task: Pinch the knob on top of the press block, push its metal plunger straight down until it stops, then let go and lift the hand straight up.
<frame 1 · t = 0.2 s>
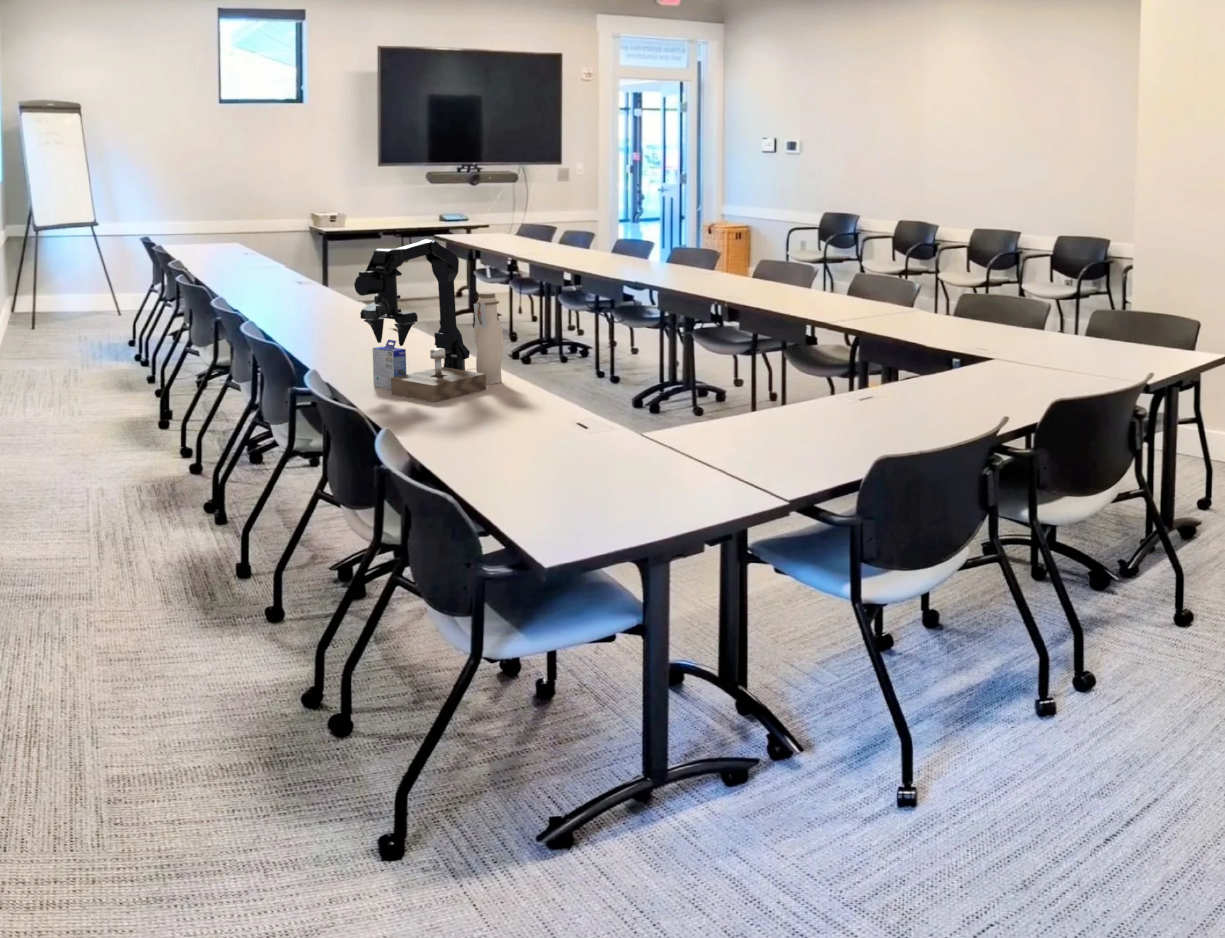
hand: (390, 344, 340), 14 cm above the table, tool pointing down, fingers open, 9 cm apart
ink cartridge box: (390, 387, 349), on the table
press block: (439, 392, 342), on the table
plunger: (438, 363, 340), point 9 cm above the table, slide at 0.0 cm
water bottle: (489, 383, 357), on the table
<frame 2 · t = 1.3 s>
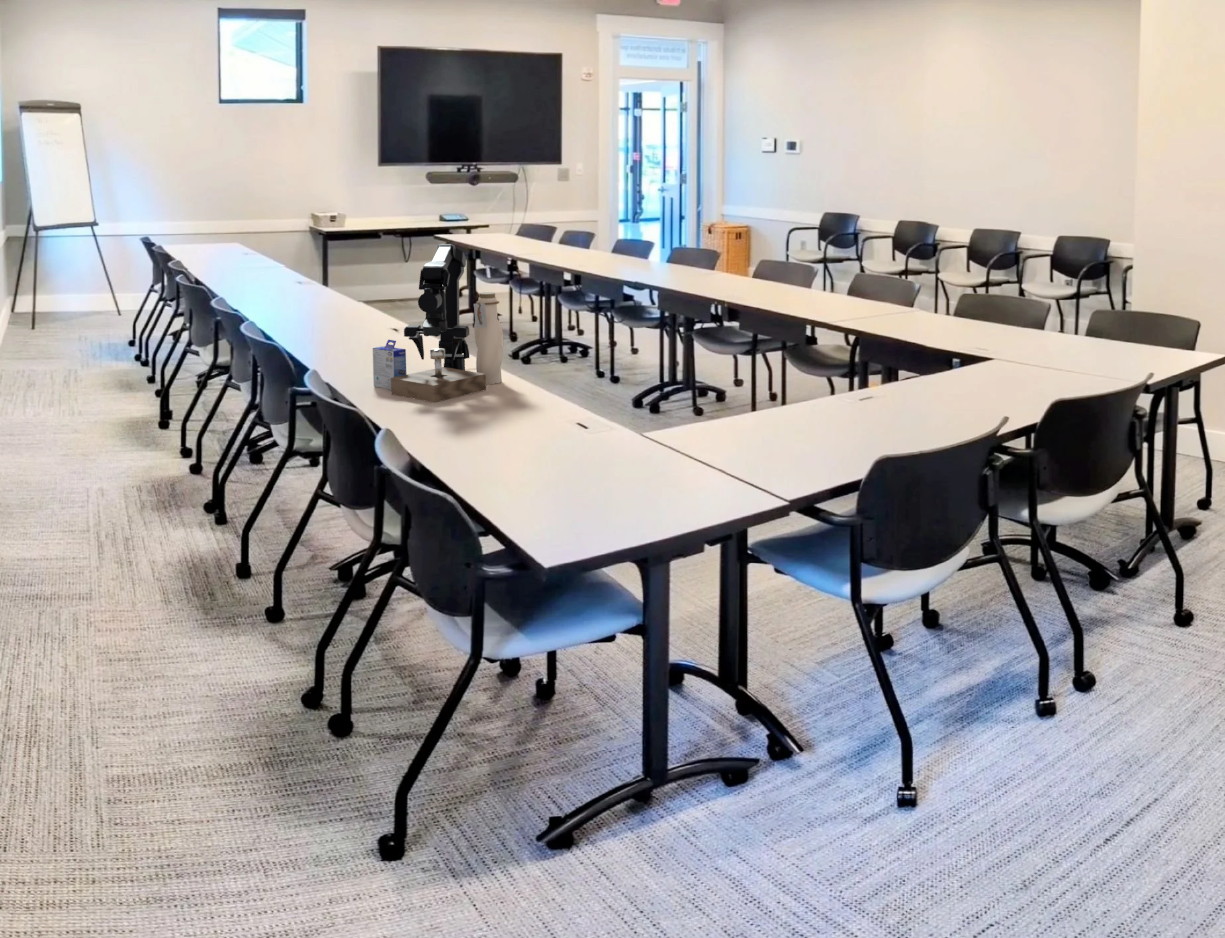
hand: (437, 359, 340), 10 cm above the table, tool pointing down, fingers open, 9 cm apart
nothing on the table moved.
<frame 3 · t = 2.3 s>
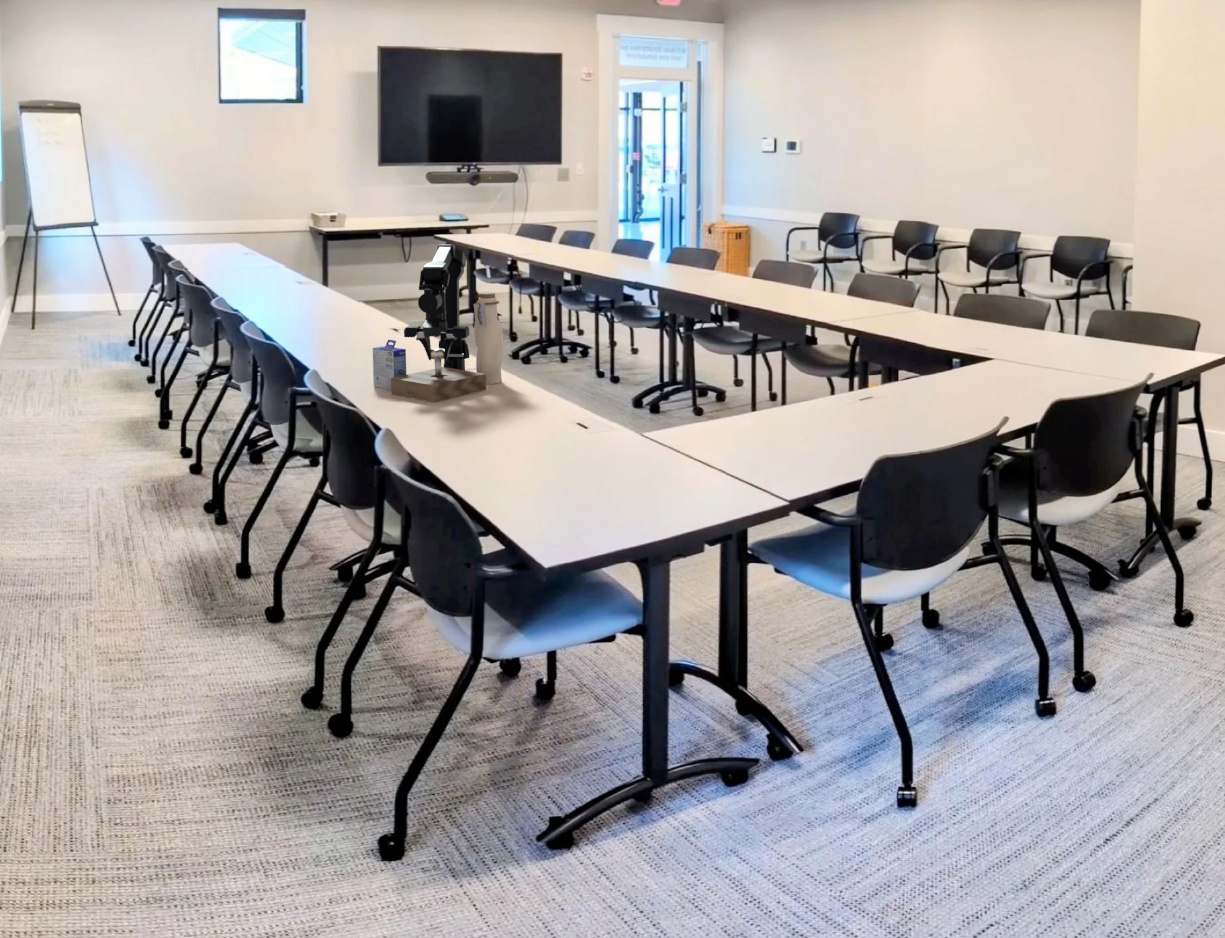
hand: (437, 360, 340), 10 cm above the table, tool pointing down, fingers closed on plunger, 4 cm apart
plunger: (438, 363, 340), point 9 cm above the table, slide at 0.1 cm, touching gripper
everything else where it was.
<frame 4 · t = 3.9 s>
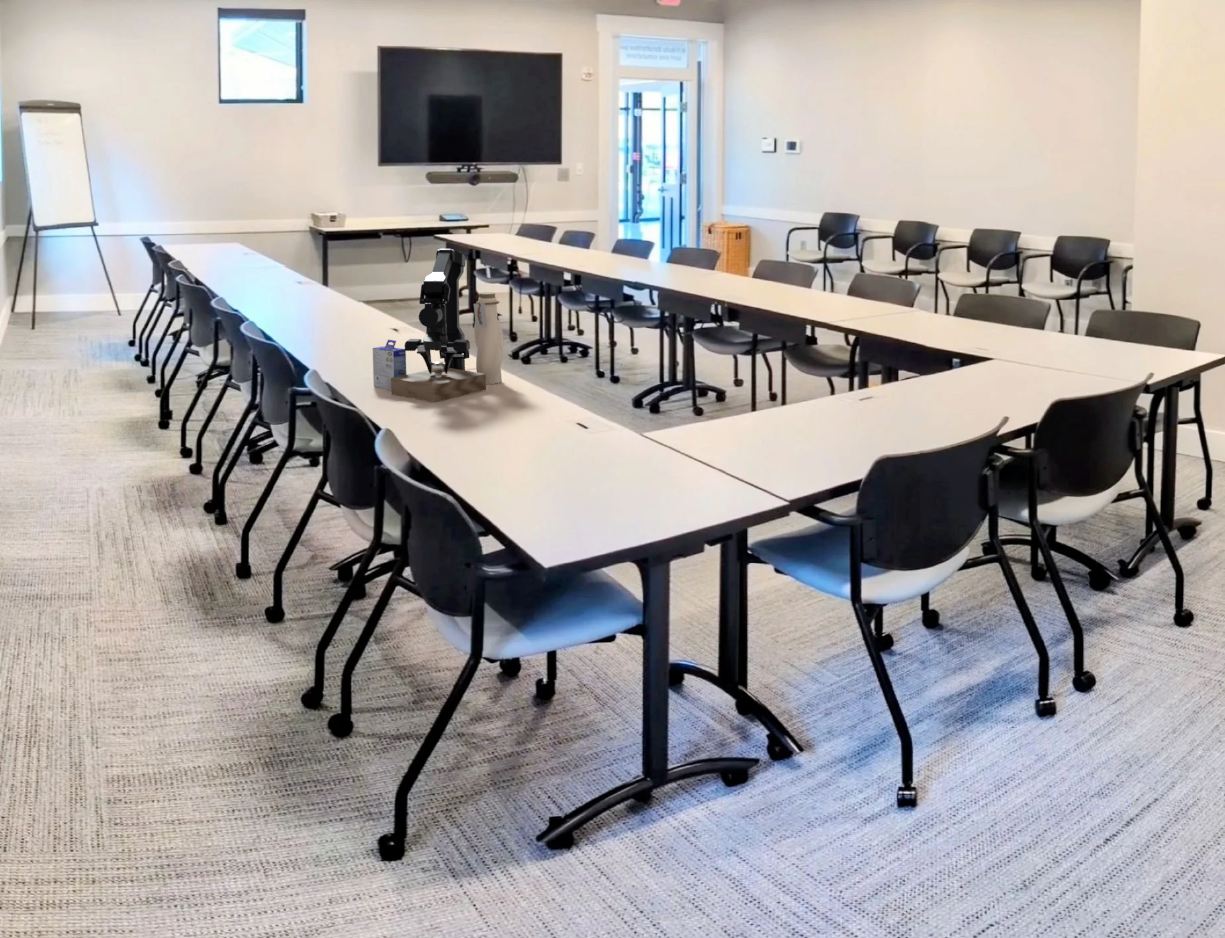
hand: (438, 373, 341), 6 cm above the table, tool pointing down, fingers closed on plunger, 4 cm apart
plunger: (438, 377, 341), point 5 cm above the table, slide at 4.1 cm, touching gripper
everything else where it was.
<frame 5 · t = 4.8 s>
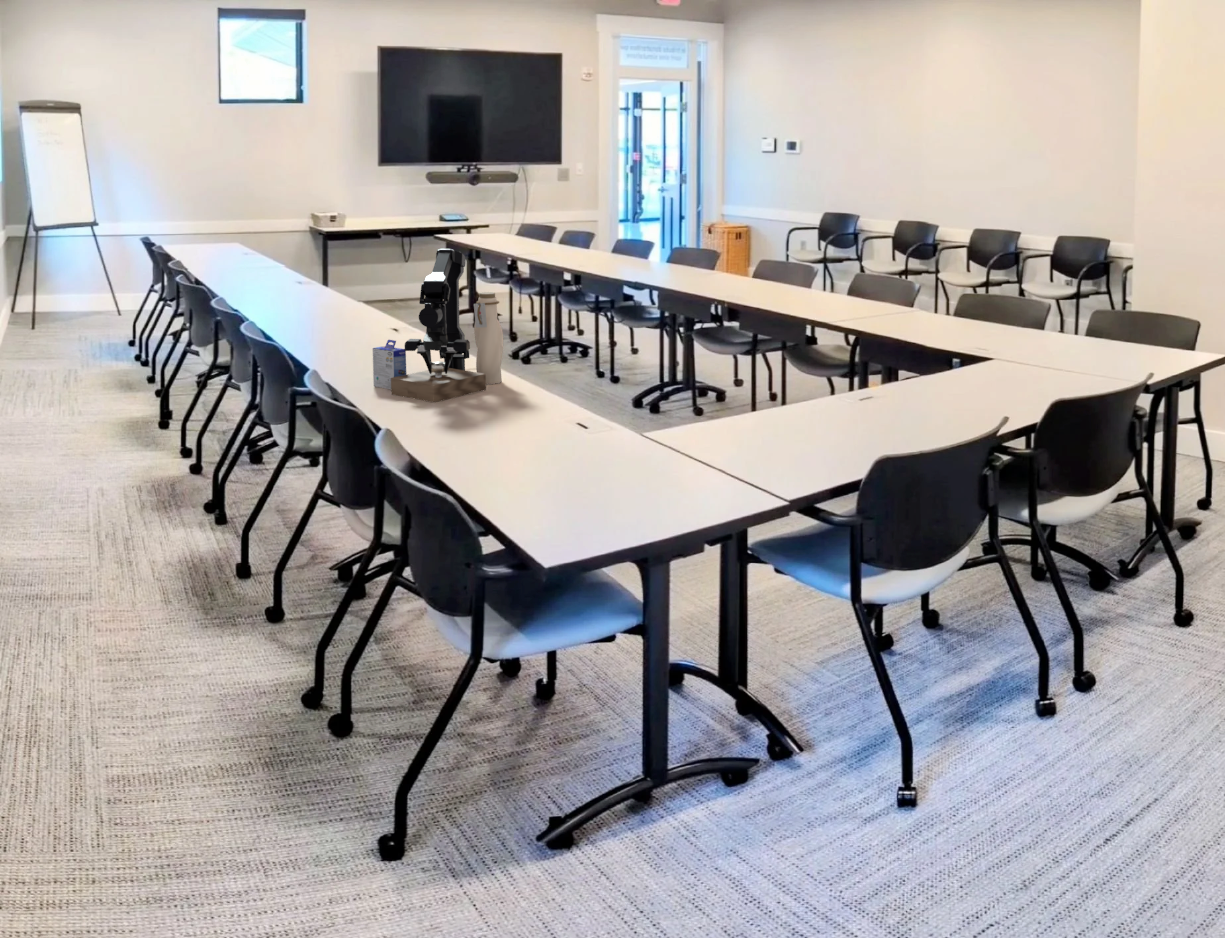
hand: (438, 373, 341), 6 cm above the table, tool pointing down, fingers closed on plunger, 4 cm apart
plunger: (438, 377, 341), point 5 cm above the table, slide at 4.1 cm, touching gripper
everything else where it was.
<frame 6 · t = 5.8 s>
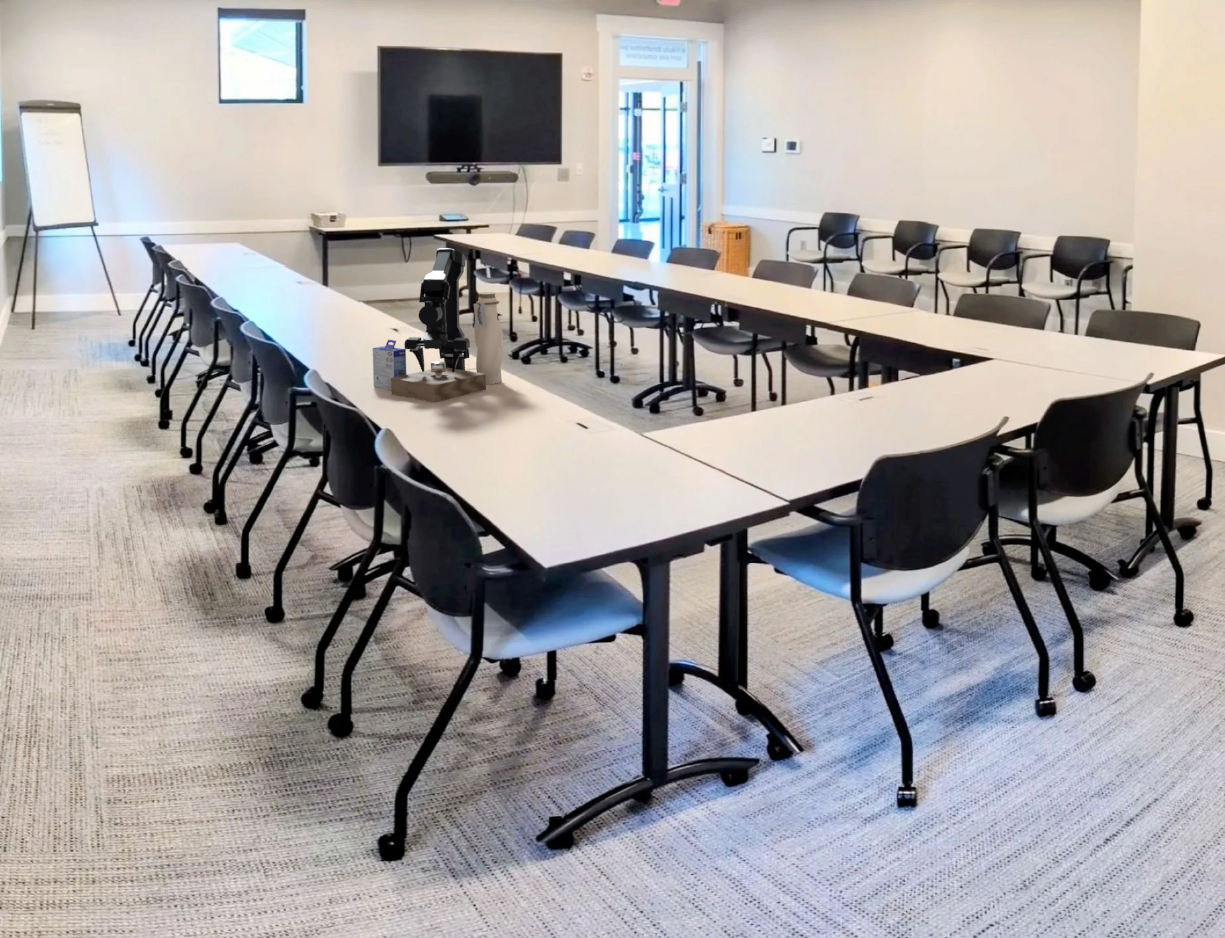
hand: (438, 372, 341), 6 cm above the table, tool pointing down, fingers open, 9 cm apart
plunger: (438, 377, 341), point 5 cm above the table, slide at 4.1 cm
everything else where it was.
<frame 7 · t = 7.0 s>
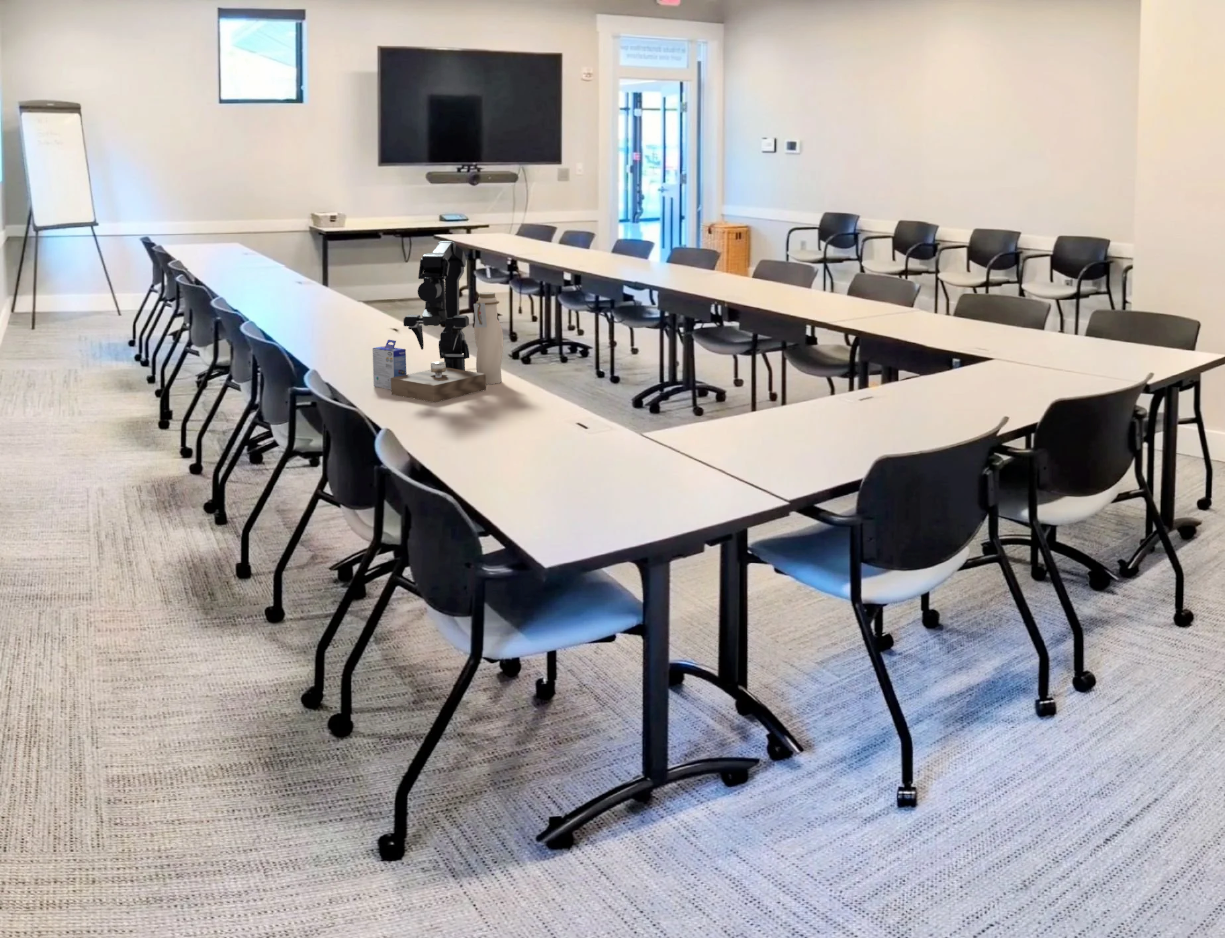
hand: (437, 349, 339), 13 cm above the table, tool pointing down, fingers open, 9 cm apart
nothing on the table moved.
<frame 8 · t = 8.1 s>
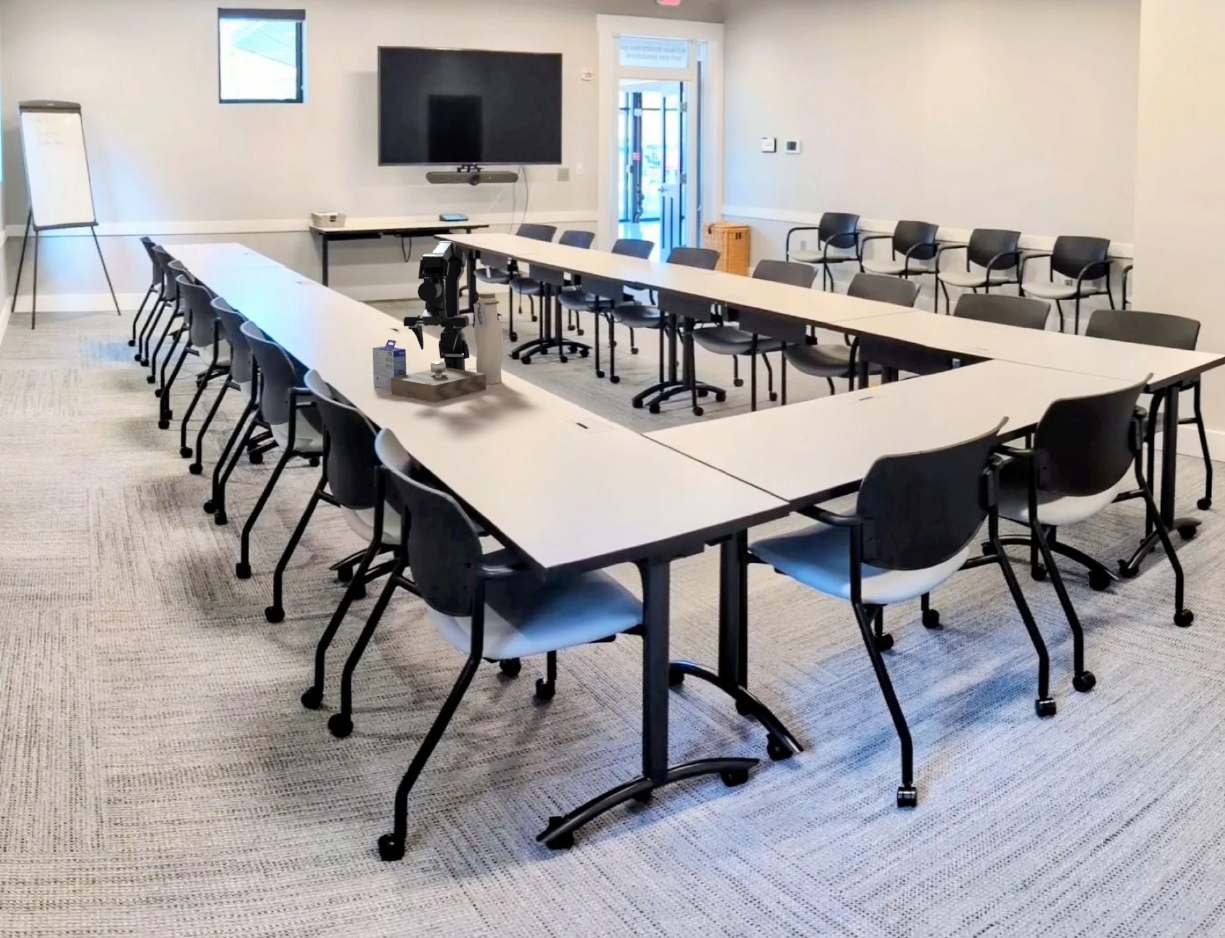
hand: (437, 349, 339), 13 cm above the table, tool pointing down, fingers open, 9 cm apart
nothing on the table moved.
at the end: plunger slide at 4.1 cm; the gripper is holding nothing; ink cartridge box moved 0.2 cm from its start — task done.
